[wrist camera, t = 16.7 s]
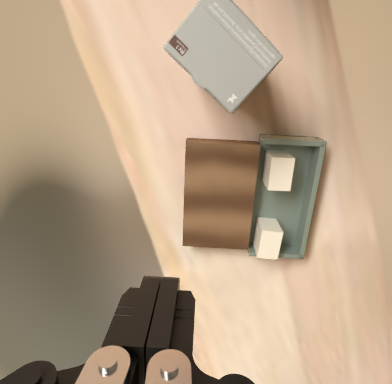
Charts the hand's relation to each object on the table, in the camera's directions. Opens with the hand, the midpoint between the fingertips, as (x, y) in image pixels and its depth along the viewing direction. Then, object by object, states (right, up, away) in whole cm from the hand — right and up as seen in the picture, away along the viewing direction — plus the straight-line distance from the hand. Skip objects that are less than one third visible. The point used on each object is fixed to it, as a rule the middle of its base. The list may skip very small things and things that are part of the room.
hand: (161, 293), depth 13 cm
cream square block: (+11, -2, +32) cm, 34 cm away
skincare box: (+5, +21, +26) cm, 34 cm away
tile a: (+11, +7, +28) cm, 31 cm away
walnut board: (+5, +4, +32) cm, 33 cm away
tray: (+14, +4, +32) cm, 35 cm away
